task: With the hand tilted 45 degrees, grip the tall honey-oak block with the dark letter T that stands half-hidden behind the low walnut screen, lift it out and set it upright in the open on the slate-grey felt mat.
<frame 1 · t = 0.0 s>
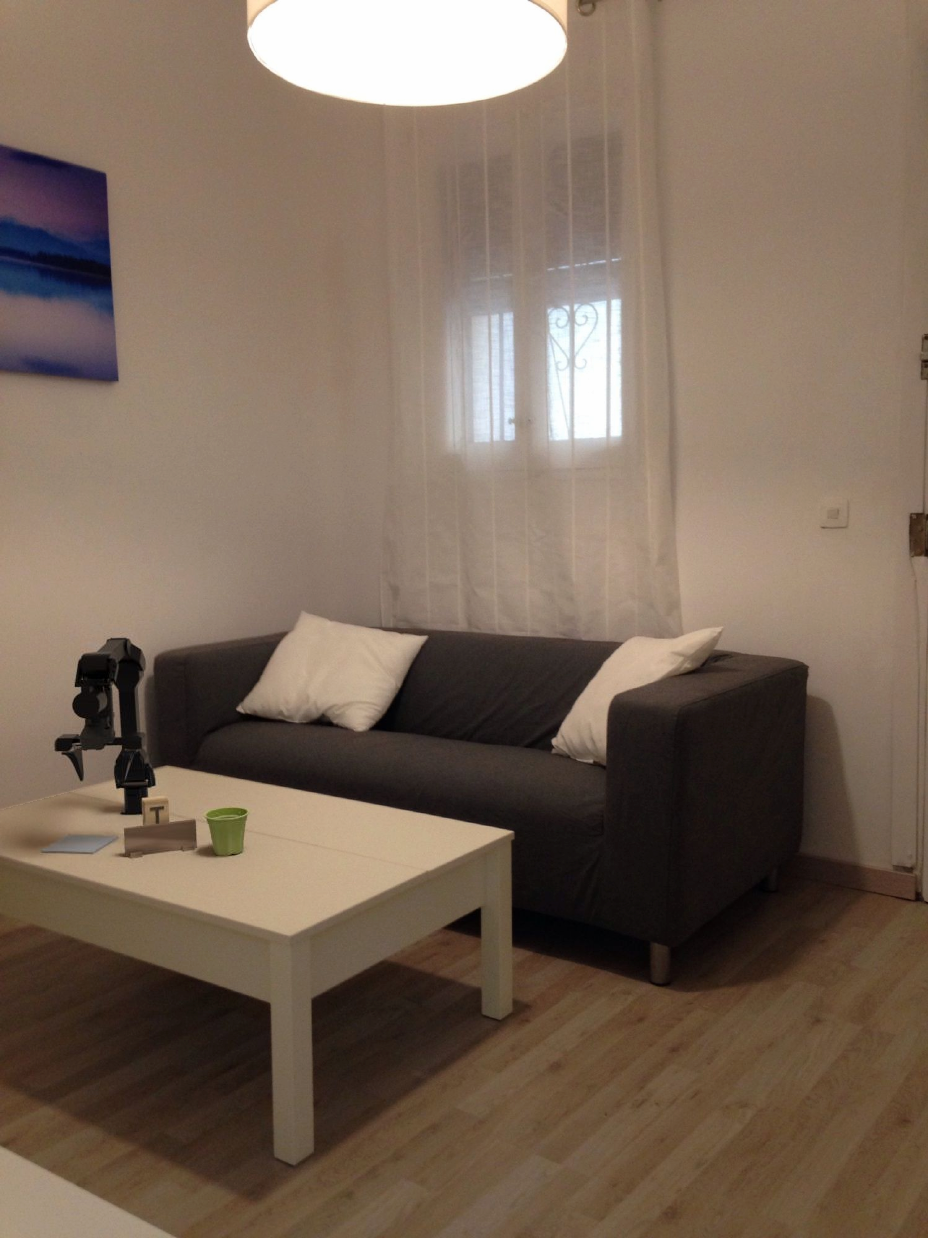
hand: (103, 780, 246), 15 cm above the table, tool pointing down, fingers open, 9 cm apart
felt mat: (80, 844, 248), on the table
letter block: (156, 843, 248), on the table
plant pot: (228, 853, 241), on the table
walnut screen: (161, 851, 242), on the table
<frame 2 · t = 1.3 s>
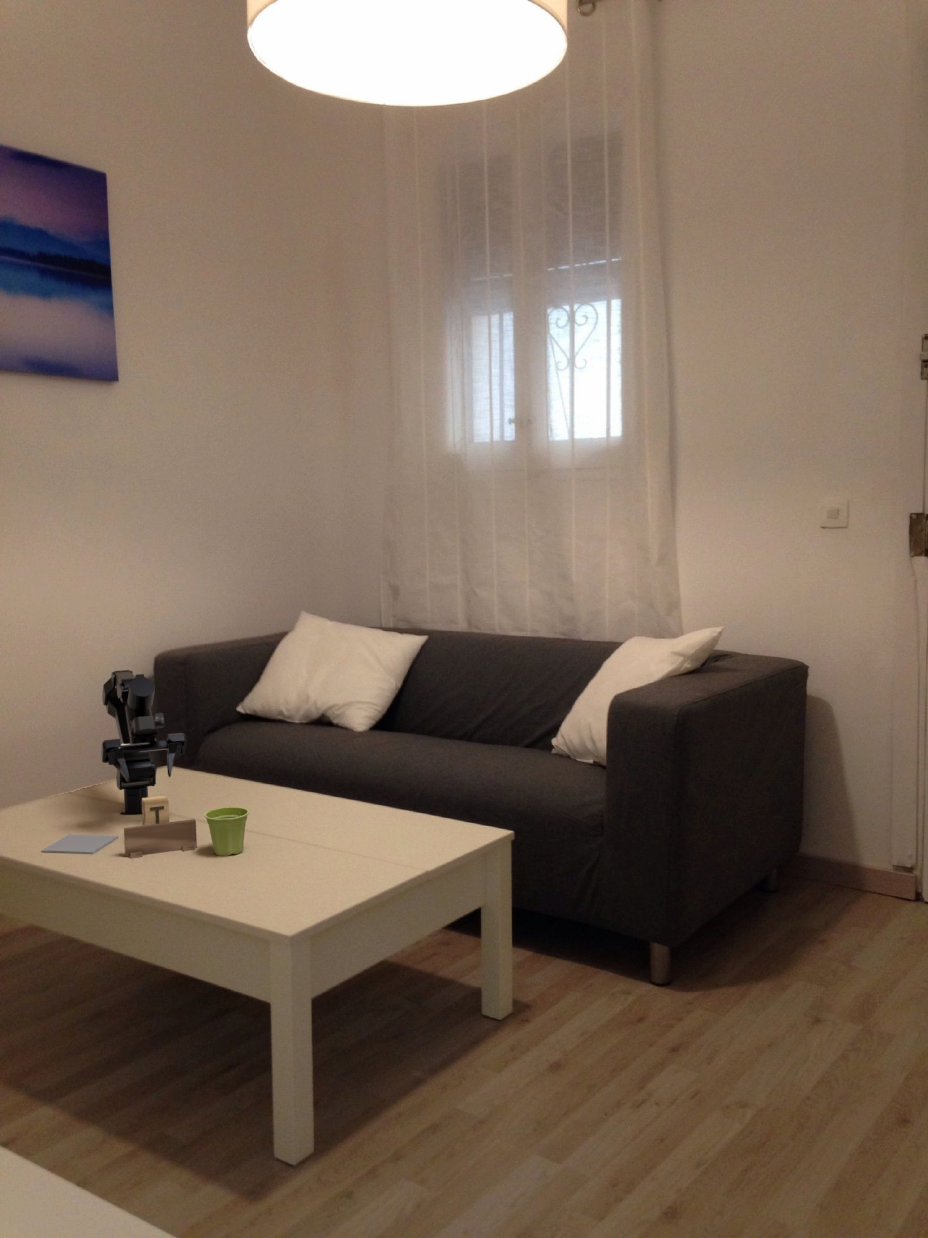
hand: (149, 778, 254), 13 cm above the table, tool tilted 45°, fingers open, 9 cm apart
nothing on the table moved.
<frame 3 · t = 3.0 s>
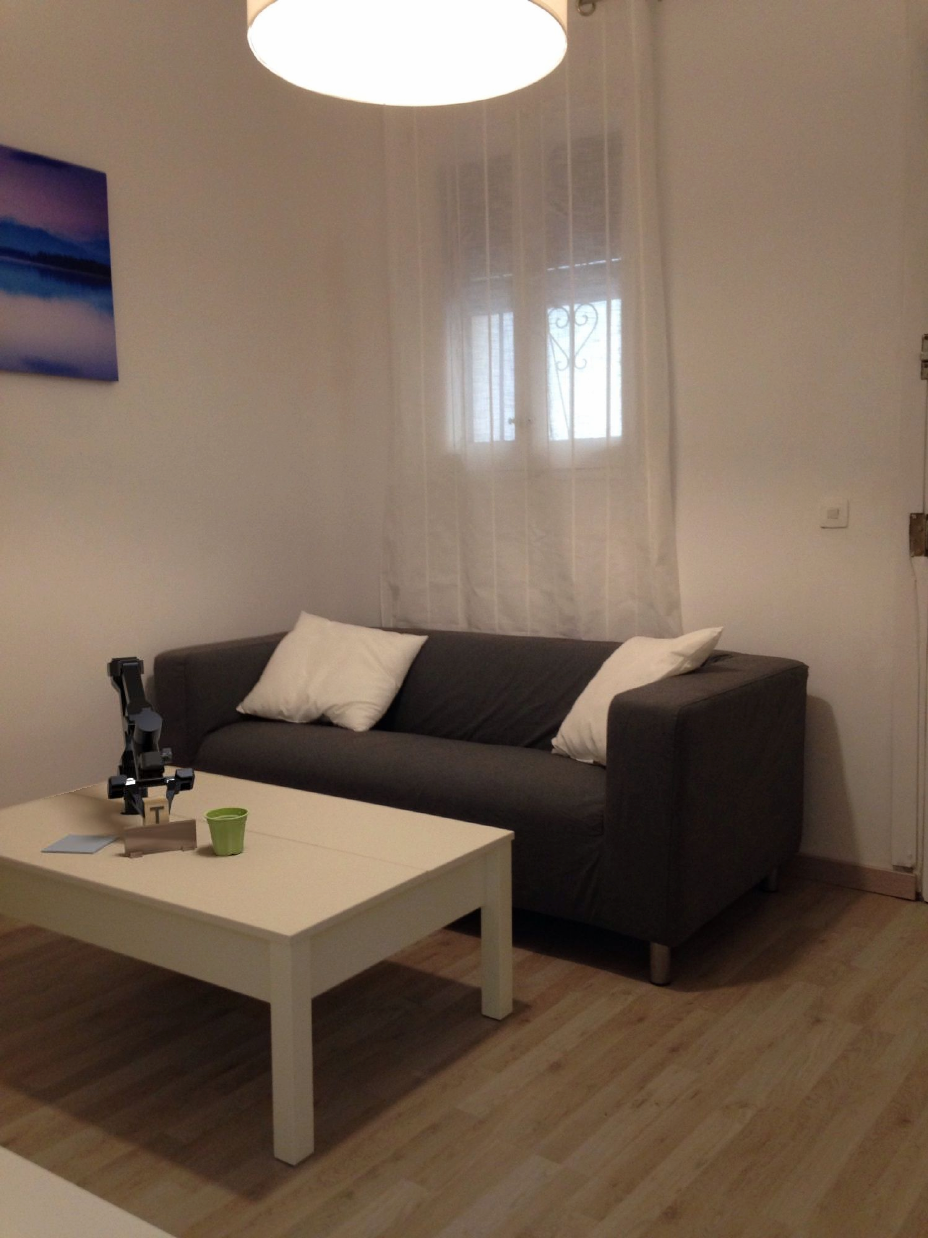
hand: (156, 815, 246), 7 cm above the table, tool tilted 45°, fingers closed on letter block, 5 cm apart
letter block: (156, 843, 248), on the table, touching gripper
everything else where it was.
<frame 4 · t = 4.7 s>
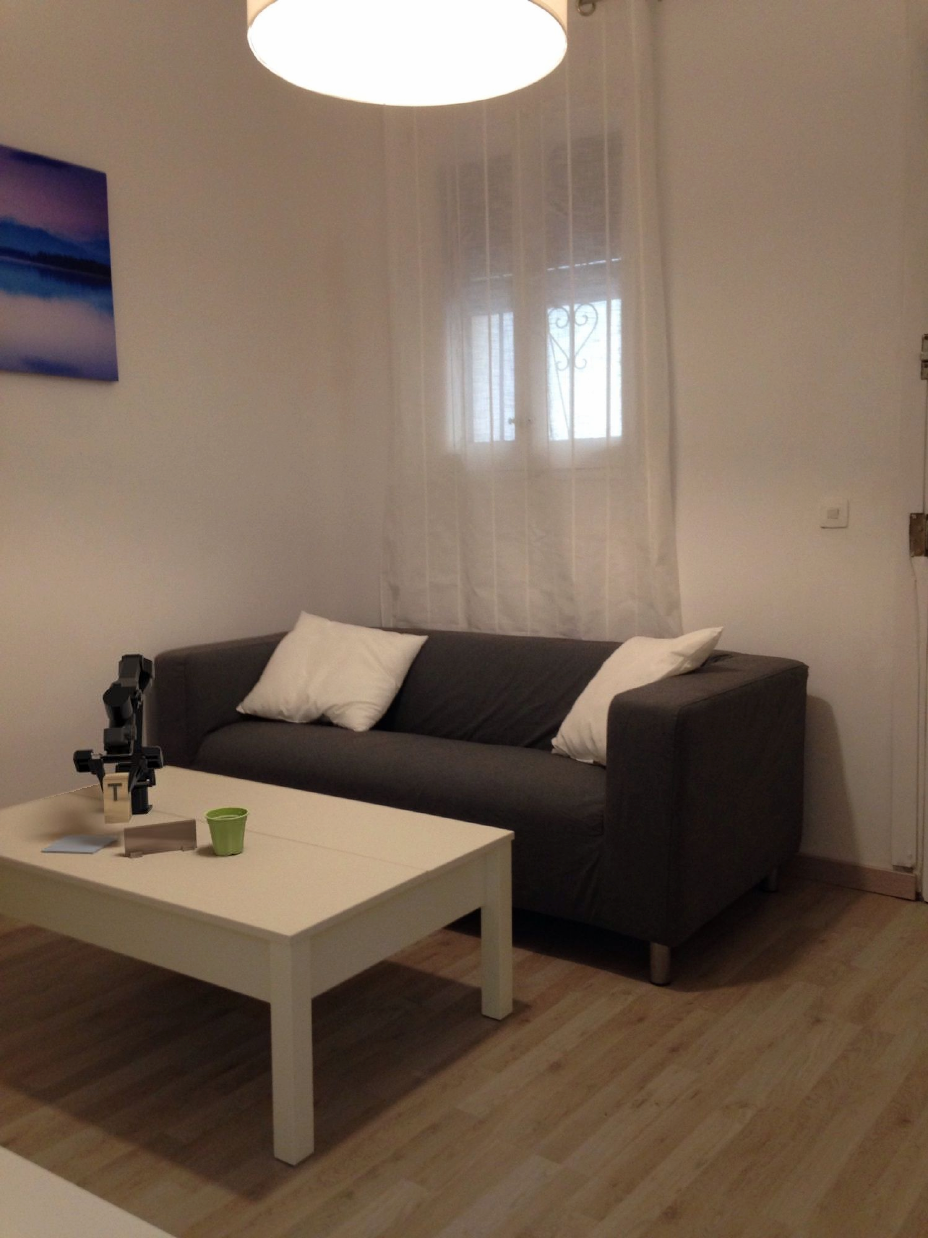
hand: (115, 792, 244), 12 cm above the table, tool tilted 45°, fingers closed on letter block, 5 cm apart
letter block: (118, 820, 246), point 6 cm above the table, touching gripper
everything else where it was.
when the fingers open (8 cm above the table, at t = 6.4 s): letter block drops 1 cm, resting on felt mat.
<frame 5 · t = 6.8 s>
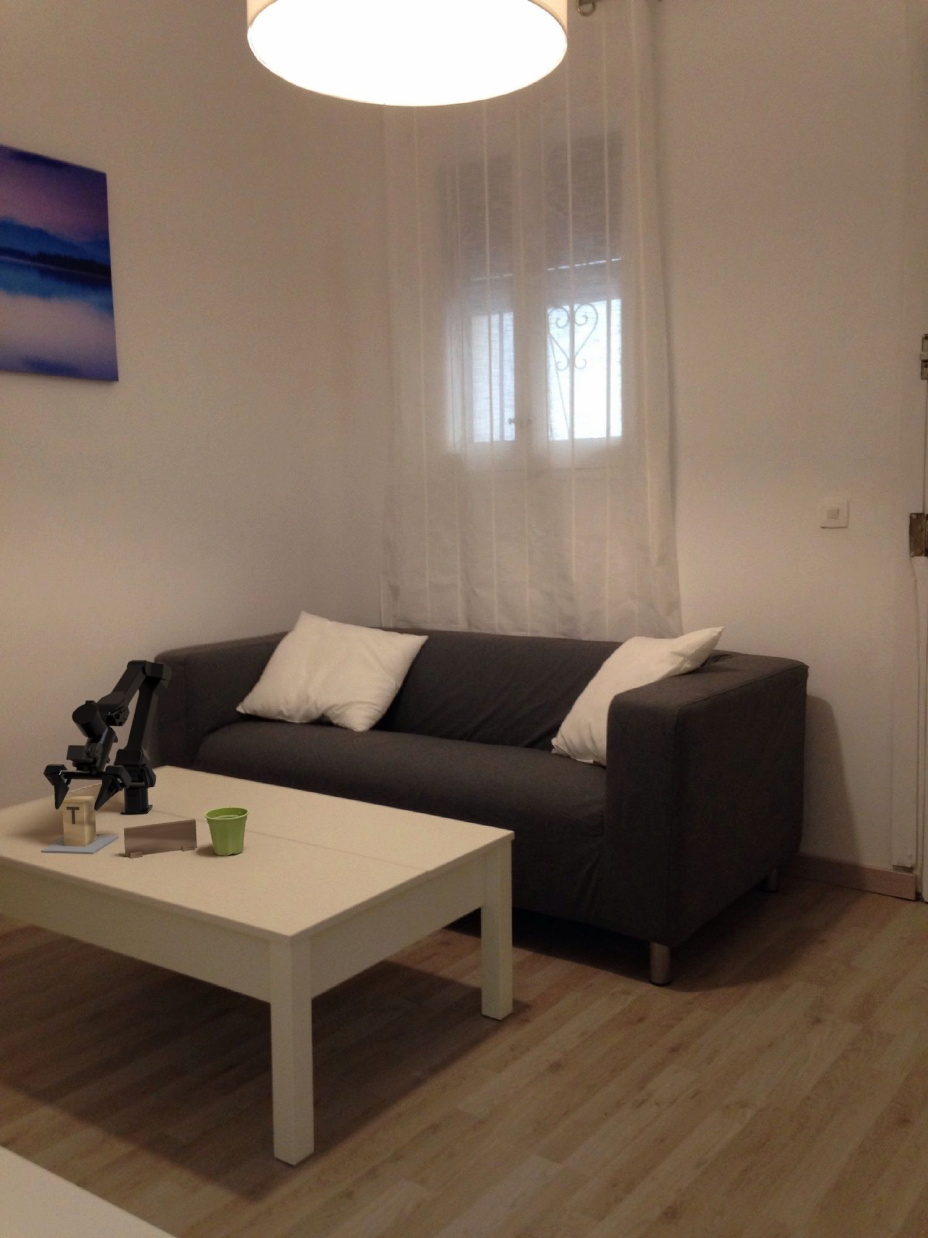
hand: (75, 809, 246), 8 cm above the table, tool tilted 45°, fingers open, 9 cm apart
letter block: (80, 843, 248), resting on felt mat
everything else where it was.
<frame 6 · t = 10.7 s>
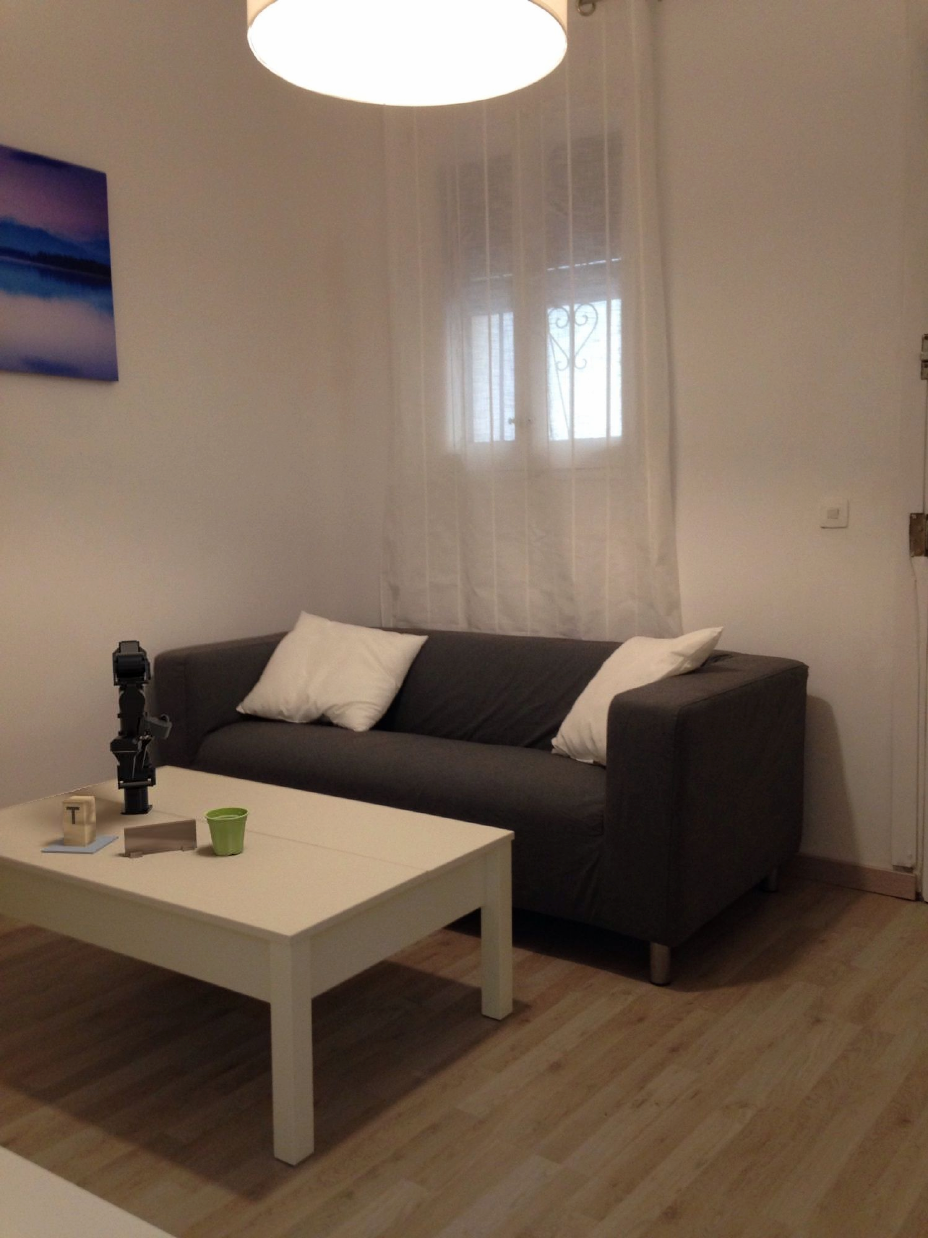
hand: (135, 774, 259), 13 cm above the table, tool pointing down, fingers open, 9 cm apart
nothing on the table moved.
at the end: letter block inside the target area on the felt mat (0.0 cm from its centre), point 0.4 cm above the felt mat's base; letter block tilted 0°; the gripper is holding nothing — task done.
